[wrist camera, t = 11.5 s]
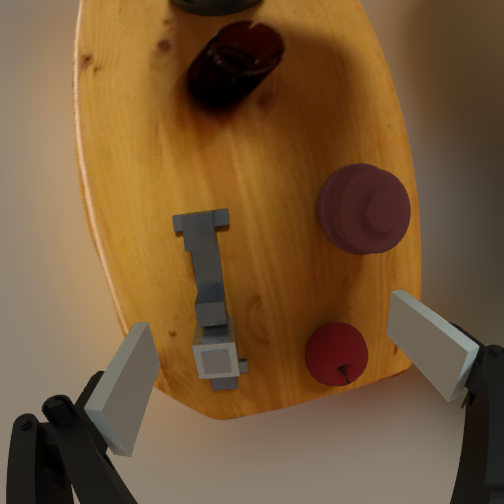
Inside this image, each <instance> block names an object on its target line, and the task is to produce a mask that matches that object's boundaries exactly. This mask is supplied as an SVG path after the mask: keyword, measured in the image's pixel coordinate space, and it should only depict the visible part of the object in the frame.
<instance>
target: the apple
mask: <svg viewBox="0 0 504 504" xmlns="http://www.w3.org/2000/svg"><path fill="white" fill-rule="evenodd" d="M305 361H306V366H307V368H308V370H309V372H310V374H311V375H312V377H313V378H315V379H316V380H317V381H318V382H320V383H322V384H325V385H330V386H345V385H348V384H350V383H352V382H353V381H355V380H356V379H357V378H358V377H359V376H360V375H361V374H362V373H363V372H364V370H365V368H366V366H367V362H368V350H367V346H366V343H365V341H364V338H363V337H362V335H361V333H360V332H359V331H358V330H357V329H356V328H354V327H353V326H351V325H349V324H346V323H341V322H336V323H328V324H325V325H322V326H321V327H319V328H318V329H317V330H316V331H315V332H314V333H313V334H312V335H311V336H310V338H309V340H308V343H307V345H306V350H305Z"/></svg>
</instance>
